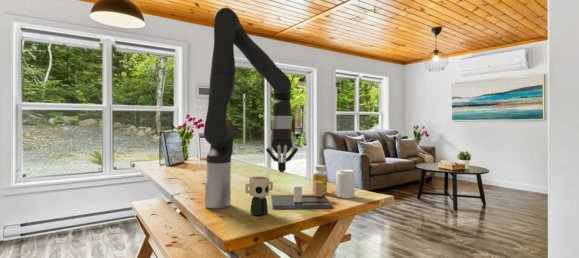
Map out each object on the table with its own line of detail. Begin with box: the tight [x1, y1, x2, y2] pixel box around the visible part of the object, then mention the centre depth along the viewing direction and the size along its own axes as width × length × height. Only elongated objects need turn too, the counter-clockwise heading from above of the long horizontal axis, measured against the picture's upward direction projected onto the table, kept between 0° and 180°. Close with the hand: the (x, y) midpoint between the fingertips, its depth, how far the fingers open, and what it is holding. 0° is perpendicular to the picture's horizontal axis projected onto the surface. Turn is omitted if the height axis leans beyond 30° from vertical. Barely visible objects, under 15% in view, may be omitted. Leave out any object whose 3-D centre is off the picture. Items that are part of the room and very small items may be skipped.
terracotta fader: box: [314, 181, 324, 196], centre depth 129 cm, size 3×2×6 cm
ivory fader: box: [293, 185, 303, 202], centre depth 119 cm, size 3×2×6 cm
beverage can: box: [335, 168, 356, 200], centre depth 135 cm, size 8×8×12 cm
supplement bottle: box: [312, 164, 328, 195], centre depth 142 cm, size 7×7×13 cm
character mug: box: [244, 175, 274, 216], centre depth 109 cm, size 11×7×13 cm, turn 122°
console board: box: [270, 194, 333, 210], centre depth 124 cm, size 23×16×2 cm
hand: (281, 171), depth 118 cm, fingers closed
